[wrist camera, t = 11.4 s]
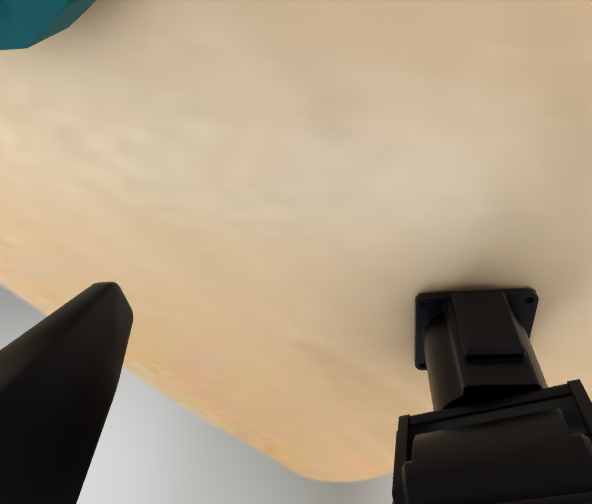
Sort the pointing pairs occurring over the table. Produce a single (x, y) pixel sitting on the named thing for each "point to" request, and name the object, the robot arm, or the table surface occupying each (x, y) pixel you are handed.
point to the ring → (36, 20)
